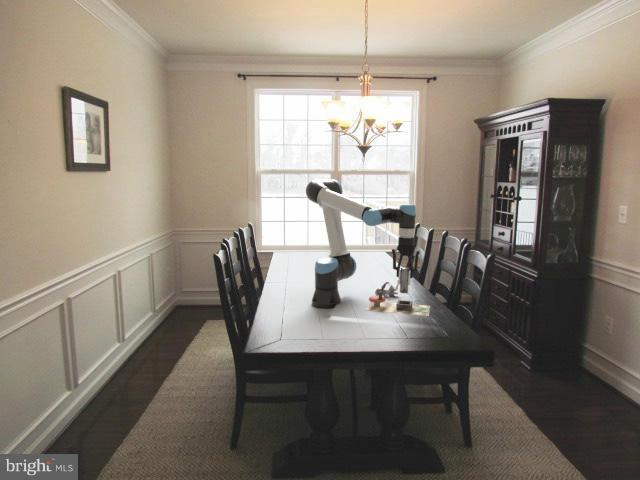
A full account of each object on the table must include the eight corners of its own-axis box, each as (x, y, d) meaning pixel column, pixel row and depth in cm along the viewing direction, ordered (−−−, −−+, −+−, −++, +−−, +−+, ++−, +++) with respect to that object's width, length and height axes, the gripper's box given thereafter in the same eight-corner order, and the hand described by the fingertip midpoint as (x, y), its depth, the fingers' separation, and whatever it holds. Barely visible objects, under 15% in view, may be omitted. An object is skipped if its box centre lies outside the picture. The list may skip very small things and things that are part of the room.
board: (365, 313, 220) (365, 304, 219) (370, 303, 235) (371, 295, 234) (428, 319, 211) (428, 309, 210) (430, 308, 226) (430, 300, 226)
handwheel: (374, 309, 220) (374, 293, 219) (366, 304, 228) (366, 289, 227) (388, 307, 224) (388, 291, 222) (380, 303, 231) (380, 287, 230)
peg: (399, 292, 220) (400, 268, 217) (400, 290, 223) (401, 267, 221) (407, 293, 218) (408, 269, 216) (408, 291, 222) (409, 267, 220)
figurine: (401, 304, 243) (376, 303, 238) (394, 297, 251) (370, 295, 246) (407, 285, 240) (381, 283, 235) (399, 278, 248) (375, 276, 243)
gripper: (387, 236, 215) (385, 284, 219) (424, 239, 210) (421, 287, 214) (389, 234, 222) (387, 280, 226) (425, 236, 217) (422, 283, 221)
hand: (404, 283), depth 220 cm, fingers closed on peg, 4 cm apart
